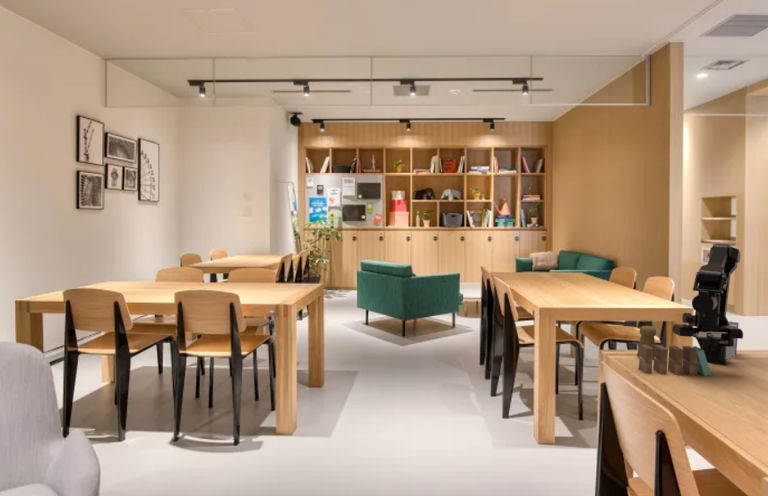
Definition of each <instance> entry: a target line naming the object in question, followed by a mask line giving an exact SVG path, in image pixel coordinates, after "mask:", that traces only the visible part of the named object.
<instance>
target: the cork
mask: <svg viewBox="0 0 768 496" xmlns="http://www.w3.org/2000/svg"><path fill="white" fill-rule="evenodd" d="M656 329H657V328H655V327H654V326H650V325H642V326H640V328H639V334H640V339H639V342H638V343H639V345H638V348H637V353H636V357H637V356H638V357H639V356H640V344H641V345H648V346H649V347H651V348H653V358H652V361H654V348H655V345H656V342H655V341H656V340H655V336H656V335H657V330H656ZM638 357H637V358H638Z"/></svg>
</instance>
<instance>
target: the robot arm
mask: <svg viewBox="0 0 768 496" xmlns="http://www.w3.org/2000/svg"><path fill="white" fill-rule="evenodd" d="M740 261H741V252H740V250H739V249H737V248H736V247H734V246H732V245H731V244H729V243H728V244H727V243H714V244H713V245H712V246H711V247H710V248H709V259H708V262H707V263H706V264H704V265H701V266H700V268H699V270H698V271H697V272H696V273H695V278H694V282H693V284H694V285H693V287H692V291H693V292H698V294H697V295H696V296H694V297H693V299H692V301H691V306H692V308H693V310H694V311H695V312H694V314H693V315H692V313H691V312H684V313H682V323H681V324H680V323H675V324H674V325H673V326H672V329H671V330H672V333H673V334H675V335H678V336H679V337H693V338H695V340H696V341H697V343H698V347H699V348H700V349H702V350H704V353H705V356H706V359H707V362H708V363H713V364H718V365H727V363H728V358H726V347H727V346H728V347H730V346H734V338H737V340H738V339H740V340H741V339H742V340H743V339H744V332H743V330H742V329H741V328H739V327H738V328H736V327H734V326H730V323H729V322H730V321H729V320H728V318H727V311H728V309H727V308H728V301H729V292H730V290H729V289H730V283H731V275H732V274H733V273H734V272H735V271H736V270H737V268H738V263H740ZM726 341H728V342H726Z"/></svg>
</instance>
